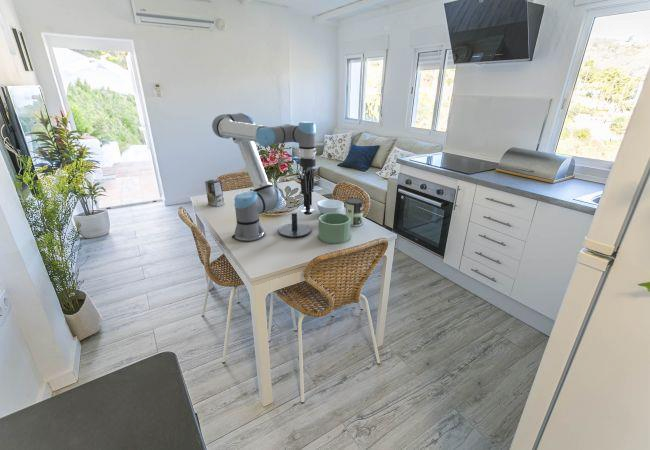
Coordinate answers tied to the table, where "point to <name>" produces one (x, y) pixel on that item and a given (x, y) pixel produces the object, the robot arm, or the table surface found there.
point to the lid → (294, 228)
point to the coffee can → (354, 210)
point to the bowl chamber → (334, 227)
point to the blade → (308, 208)
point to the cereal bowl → (330, 206)
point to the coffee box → (214, 192)
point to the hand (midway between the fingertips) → (307, 205)
